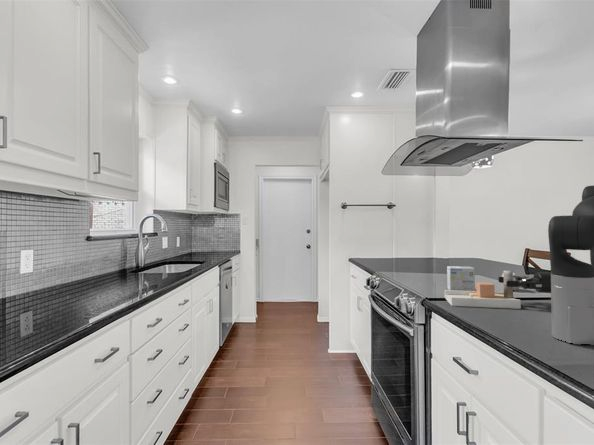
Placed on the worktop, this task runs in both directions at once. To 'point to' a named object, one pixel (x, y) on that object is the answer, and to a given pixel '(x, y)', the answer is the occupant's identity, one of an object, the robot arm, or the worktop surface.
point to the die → (513, 280)
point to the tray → (479, 300)
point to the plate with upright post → (507, 290)
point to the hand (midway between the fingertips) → (502, 281)
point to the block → (485, 289)
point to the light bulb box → (461, 278)
